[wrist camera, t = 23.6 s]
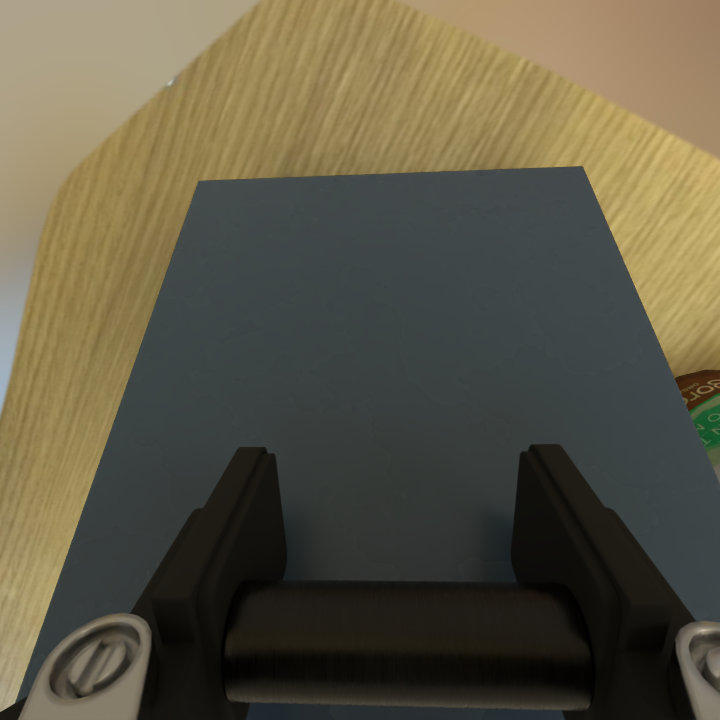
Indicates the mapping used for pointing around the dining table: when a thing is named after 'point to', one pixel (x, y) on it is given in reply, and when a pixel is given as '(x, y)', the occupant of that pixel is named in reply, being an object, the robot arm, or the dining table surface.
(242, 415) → the lid
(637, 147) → the dining table surface
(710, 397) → the food container
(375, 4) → the dining table surface
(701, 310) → the dining table surface
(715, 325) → the dining table surface
